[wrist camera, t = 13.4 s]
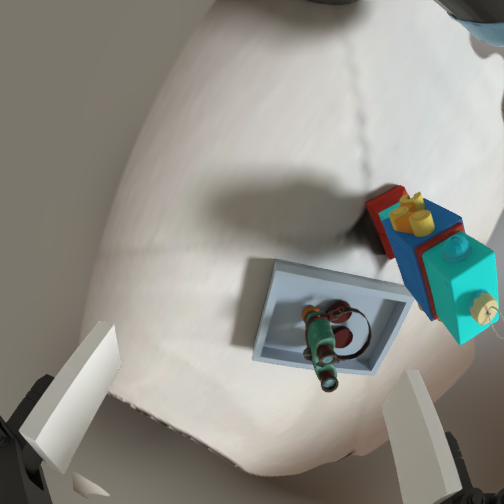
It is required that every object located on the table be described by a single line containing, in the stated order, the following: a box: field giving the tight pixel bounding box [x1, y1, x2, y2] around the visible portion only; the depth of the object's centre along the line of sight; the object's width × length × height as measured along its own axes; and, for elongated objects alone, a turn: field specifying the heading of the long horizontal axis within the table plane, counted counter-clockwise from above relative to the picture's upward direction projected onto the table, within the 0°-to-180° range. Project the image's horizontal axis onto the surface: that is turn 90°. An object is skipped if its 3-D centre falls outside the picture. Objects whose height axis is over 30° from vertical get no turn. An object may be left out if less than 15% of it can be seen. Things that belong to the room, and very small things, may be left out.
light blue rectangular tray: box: [252, 259, 414, 376], centre depth 40 cm, size 15×20×4 cm
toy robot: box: [365, 185, 504, 345], centre depth 24 cm, size 12×6×25 cm, turn 30°
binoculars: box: [302, 301, 372, 392], centre depth 36 cm, size 9×11×10 cm
